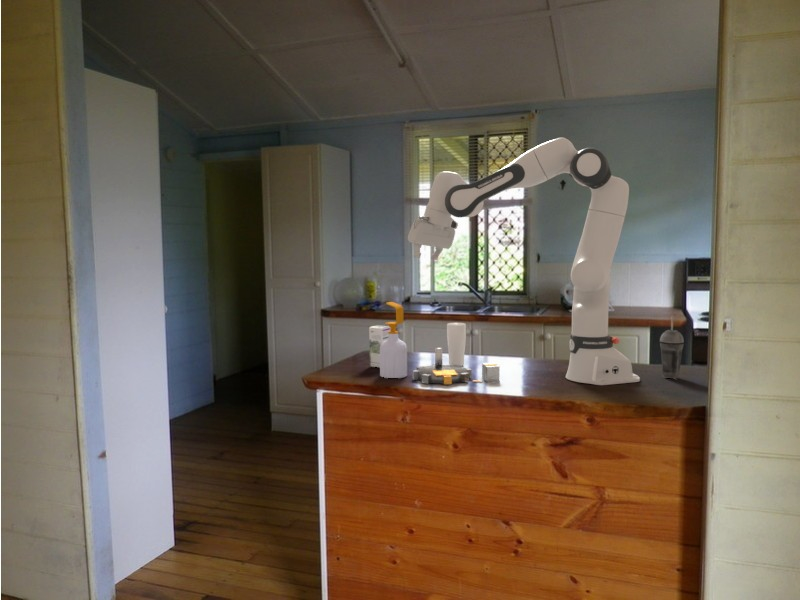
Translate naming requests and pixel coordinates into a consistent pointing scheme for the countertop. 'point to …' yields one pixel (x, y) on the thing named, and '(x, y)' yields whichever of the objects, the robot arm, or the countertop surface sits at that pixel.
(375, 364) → the syrup box
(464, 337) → the drinking glass
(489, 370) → the marked link
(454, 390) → the countertop surface
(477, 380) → the timing mark
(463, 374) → the sprocket
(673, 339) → the beverage cup
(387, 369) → the soap bottle
